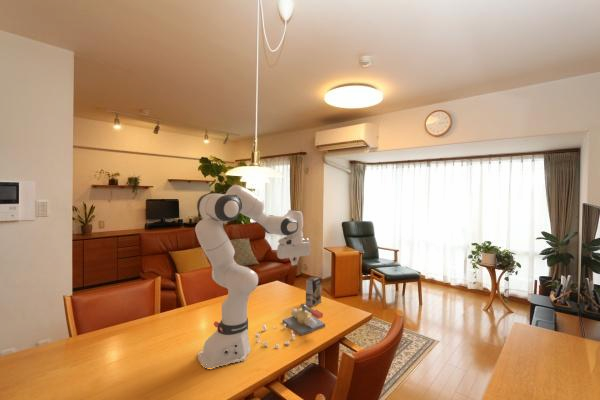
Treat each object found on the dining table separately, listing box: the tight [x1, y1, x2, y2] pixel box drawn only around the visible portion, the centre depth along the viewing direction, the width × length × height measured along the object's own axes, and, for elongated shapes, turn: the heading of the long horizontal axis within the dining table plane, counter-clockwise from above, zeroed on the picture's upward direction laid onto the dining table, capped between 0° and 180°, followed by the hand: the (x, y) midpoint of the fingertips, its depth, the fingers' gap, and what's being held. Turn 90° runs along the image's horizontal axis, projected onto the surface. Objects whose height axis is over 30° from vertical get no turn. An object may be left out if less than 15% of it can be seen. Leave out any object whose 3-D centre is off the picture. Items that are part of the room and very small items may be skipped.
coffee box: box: [305, 276, 322, 307], centre depth 175 cm, size 9×6×16 cm
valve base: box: [282, 307, 326, 336], centre depth 148 cm, size 16×17×9 cm
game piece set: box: [255, 323, 296, 349], centre depth 135 cm, size 19×20×4 cm
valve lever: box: [300, 303, 324, 320], centre depth 142 cm, size 15×3×2 cm, turn 36°
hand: (294, 265), depth 149 cm, fingers closed
